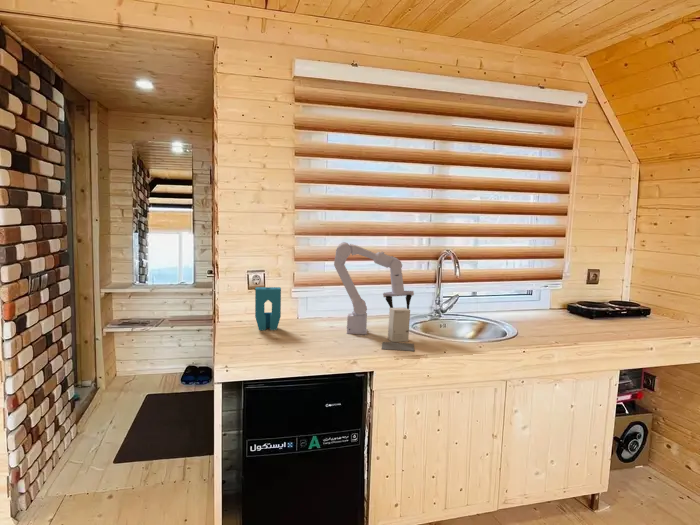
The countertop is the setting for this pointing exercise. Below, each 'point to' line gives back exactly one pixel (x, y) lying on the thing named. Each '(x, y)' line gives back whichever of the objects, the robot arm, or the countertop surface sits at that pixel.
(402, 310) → the skincare box
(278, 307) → the block
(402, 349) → the mat
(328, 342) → the countertop surface
